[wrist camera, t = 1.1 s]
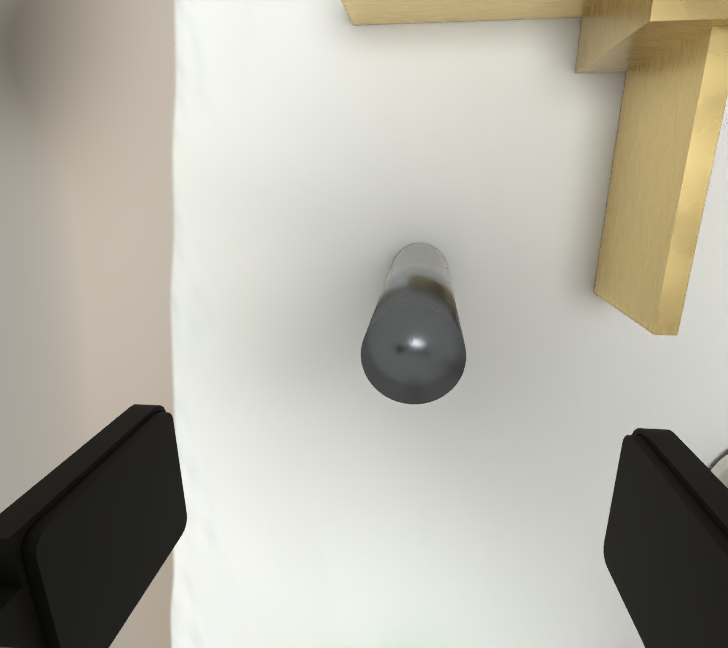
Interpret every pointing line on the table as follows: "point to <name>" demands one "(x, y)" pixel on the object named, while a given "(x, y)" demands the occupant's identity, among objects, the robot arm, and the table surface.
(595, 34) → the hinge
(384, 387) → the pin
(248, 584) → the table surface
